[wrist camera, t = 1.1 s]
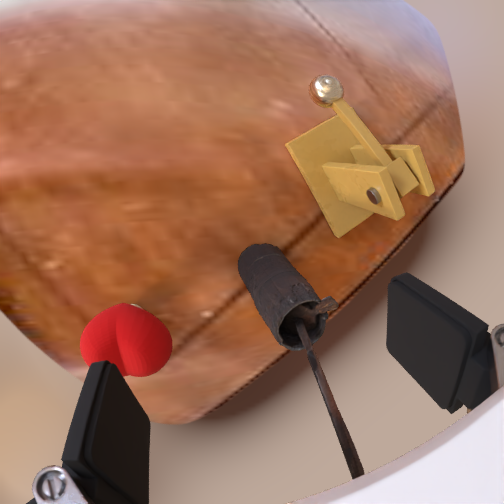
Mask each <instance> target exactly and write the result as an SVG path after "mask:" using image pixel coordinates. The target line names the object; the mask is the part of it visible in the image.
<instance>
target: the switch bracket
mask: <svg viewBox="0 0 504 504" xmlns="http://www.w3.org/2000/svg"><path fill="white" fill-rule="evenodd" d="M352 110H353V111H354V112H355V110H354V108H352ZM355 113H356V112H355ZM285 146H286V148H287V150H288V151H289V153H290V155H291V156H292V158H293V160H294V162H295V163H296V165H297V167H298V169H299V170H300V172H301V174H302V176H303V177H304V179H305V181H306V183H307V185H308V186H309V188H310V190H311V192H312V194H313V196H314V197H315V199H316V201H317V203H318V205H319V207H320V209H321V210H322V212H323V214H324V216H325V218H326V220H327V222H328V224H329V226H330V228H331V230H332V232H333V234H334V235H335V236H336V237H338V238H340V237H341V236H343V235H344V234H346V233H347V232H349V231H350V230H351V229H353V228H354V227H356V226H357V225H358V224H360V223H361V222H363V221H364V220H365V219H367V218H368V217H370V216H371V215H372V214H374V213H377V214H380V215H383V216H386V217H389V218H391V219H394V220H397V221H398V220H399V219H401V218H402V217H403V216H404V215H405V212H404V209H403V206H402V204H401V201H400V198H399V196H398V193H397V191H396V188H395V186H394V183H393V181H392V178H391V176H390V173H389V171H388V169H387V167H382V166H377V165H376V163H375V162H374V161H373V159H372V158H371V157H370V155H369V154H368V153H367V151H366V150H365V149H364V147H363V146H362V145H361V143H360V142H359V141H358V139H357V138H356V137H355V136H354V134H353V133H352V132H351V131H350V129H349V128H348V127H347V126H346V124H345V123H344V122H343V121H342V120H341V118H340V117H339V116H338V115H335V116H333V117H332V118H330V119H328V120H326V121H324V122H323V123H321V124H319V125H317V126H315V127H314V128H312V129H310V130H308V131H307V132H305V133H303V134H301V135H300V136H298V137H296V138H294V139H293V140H291V141H289V142H288V143H286V144H285ZM381 146H382V147H383V149H384V150H385V151H386V153H387V154H388V155H389V157H390V158H391V160H392V161H394V160H396V159H397V158H399V157H401V158H402V159H403V160H404V162H405V163H406V165H407V166H408V168H409V169H410V170H411V172H412V173H413V175H414V176H415V178H416V179H417V181H418V182H419V185H418V186H417V187H415V188H414V189H413V190H411V191H410V192H412V193H417V194H421V195H425V196H430V195H431V194H432V193H434V192H435V188H434V185H433V182H432V179H431V176H430V173H429V171H428V168H427V165H426V162H425V159H424V157H423V154H422V151H421V149H420V146H419V145H381Z"/></svg>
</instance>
